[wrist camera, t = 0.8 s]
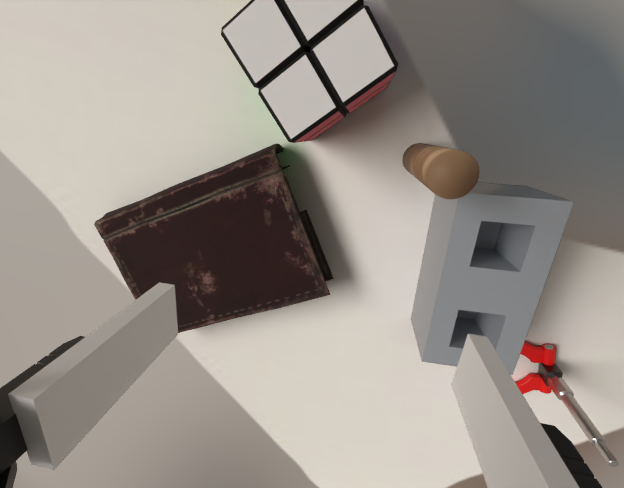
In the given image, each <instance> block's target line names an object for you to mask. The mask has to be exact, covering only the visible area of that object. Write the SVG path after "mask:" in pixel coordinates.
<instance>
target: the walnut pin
mask: <svg viewBox="0 0 624 488" xmlns="http://www.w3.org/2000/svg"><path fill="white" fill-rule="evenodd" d="M403 165H404V167H405V169H406V170H407V171H408V172H410V173H411V174H412V175H413V176H414V177H416V178H417V179H418V180H419V181H420V182H422V183H423V184H424V185H425V186H426V187H427V188H429V189H430V190H431V191H432V192H433V193H435V194H436V195H437V196H439V197H441V198H444V199H457V198H461V197H463V196H465V195H466V194H468V193H469V192H470V191H471V190H472V189H473V188H474V187H475V185H476V183H477V181H478V178H479V166H478V163H477V161H476V160H475V158H474V157H473V156H472V155H470V154H469V153H467V152H464V151H459V150H454V149H448V148H443V147H438V146H432V145H427V144H421V143H418V144H414V145H412V146H410V147H409V148H408V149H407V150H406V151H405V153H404V156H403Z"/></svg>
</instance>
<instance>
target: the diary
mask: <svg viewBox="0 0 624 488" xmlns="http://www.w3.org/2000/svg"><path fill="white" fill-rule="evenodd" d="M282 151H284V148H283V147H282V146H281V145H280V144H274V145H272V146H269V147H267V148H265V149H262V150H260V151H258V152H256V153H253V154H251V155H249V156H246V157H244V158H242V159H239V160H237V161H235V162H232V163H230V164H228V165H225V166H223V167H221V168H218V169H215V170H213V171H210V172H208V173H205V174H202V175H200V176H197V177H195V178H192V179H190V180H187V181H184V182H182V183H179V184H177V185H175V186H172V187H170V188H168V189H165V190H163V191H161V192H159V193H156V194H154V195H152V196H150V197H147V198H145V199H143V200H141V201H138V202H135V203H133V204H130V205H127V206H125V207H122V208H119V209H117V210H114V211H111V212H109V213H106V214H105V215H104V216H103V217H102V218H101V219H99V220H97V221H96V222H95V224H94V225H95V227H96V229H97V230H98V232H99V234H100V236H101V237H102V238H103V239H104V242H105V244H106V246H107V248H108V249H109V251H110V253H111V255H112V256H113V258H114V260H115V262H116V264H117V266H118V268H119V270H120V272H121V274H122V276H123V278H124V280H125V282H126V284H127V285H128V287H129V289H130V291H131V292H132V294H133V296H134V298H135V299H138V298H139V297H140V296H142V295H143V294H144V293H146V292H147V291H148V290H150V289H151V288H152V287H154V286H155V285H157V284H158V283H159V282H160V283H166V284H172V285H175V297H176V311H177V325H178V333H180V332H183V331H187V330H191V329H195V328H199V327H203V326H207V325H211V324H214V323H218V322H222V321H226V320H230V319H233V318H237V317H242V316H246V315H251V314H255V313H259V312H264V311H268V310H273V309H277V308H281V307H285V306H289V305H292V304H296V303H300V302H304V301H308V300H311V299H315V298H319V297H323V296H327V295H330V293H329V290H328V288H327V285H326V283H325V281H327V280H331V279H333V276H332V274H331V271H330V268H329V266H328V263H327V261H326V258H325V256H324V253H323V251H322V248H321V246H320V243H319V241H318V238H317V235H316V233H315V230H314V228H313V225H312V223H311V220H310V218H309V215H308V213H307V210H304V211H302V212H299V209H298V207H297V204H296V201H295V199H294V196H293V194H292V191H291V189H290V186H289V184H288V181H287V179H286V177H285V175H284V173H283V169H285V168H287V167H290V165H288V166H286V167H283V168H282V166H281V165H280V162H279V160H278V157H277V155H276V154H277V153H280V152H282Z"/></svg>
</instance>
